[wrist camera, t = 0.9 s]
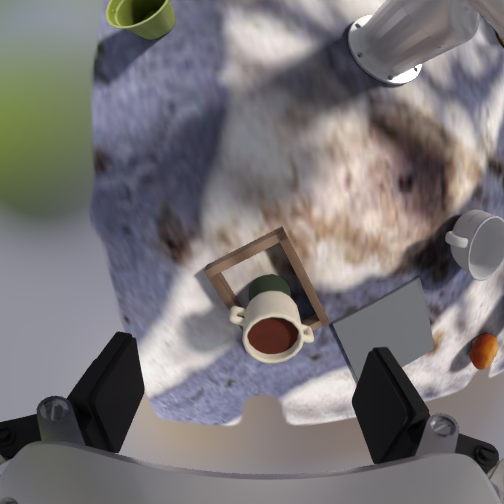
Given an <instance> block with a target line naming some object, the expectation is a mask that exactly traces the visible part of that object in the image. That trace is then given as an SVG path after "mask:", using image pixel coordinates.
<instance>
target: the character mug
mask: <svg viewBox="0 0 504 504" xmlns="http://www.w3.org/2000/svg"><path fill="white" fill-rule="evenodd" d="M249 300H250V303H249V304H248V306H247V307H246V309H244V308H241V307H238V306H233V307H232V308H231V309H230V313H229V321H230V322H231V323H234V324H237V325H241V326H243V338H242V341H243V344H244V347H245V350H246V352H247V353H248V354H249V355H250V356H251V357H252V358H254V359H255V360H257V361H259V362H262V363H268V364H275V363H280V362H283V361H287V360H288V359H290V358H291V357H293V356H295V355H296V354H297V352H298V351H299V350H300V349H301V348H302V345H303V342H306V343H312V342H313V341H314V336H313V332H312V329H311V327H309V326H307V325H303V324H301V321H300V317H299V313H298V309H297V305H296V304H295V303H294V301H293V300H292V299H291V291H290V288H289V285H288V283H287V282H286V281H285V280H284V279H283V278H282V277H280V276H276V275H273V274H270V275H264V276H261V277H260V278H258V279H257V280H255V281H254V283H253V284H252V286H251V287H250V292H249ZM237 314H238V315H241V316H244V318H242V317H238V316H237ZM303 332H304V333H305V334H304V333H303Z"/></svg>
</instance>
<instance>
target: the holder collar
mask: <svg viewBox="0 0 504 504" xmlns="http://www.w3.org/2000/svg"><path fill="white" fill-rule="evenodd" d="M279 242H280V244H281V246H282V248H283V250H284V251H285V253H286V255H287V257H288V259H289V261H290V263H291V265H292V267H293V269H294V271H295V273H296V275H297V277H298V279H299V280H300V282H301V284H302V286H303V288H304V290H305V292H306V294H307V296H308V298H309V300H310V302H311V304H312V306H313V308H314V310H315V312H316V314H314V315H311V316H309V317H307V318H305V319H303V320H301V324H303V325H307V326H309V327H311V329H312V331H314V330H316V329H318V328H320V327H323V326H325V325H327V324H329V320H328V318H327V316H326V313H325V311H324V309H323V307H322V305H321V303H320V301H319V299H318V297H317V295H316V293H315V291H314V289H313V287H312V284H311V282H310V280H309V278H308V276H307V274H306V272H305V270H304V268H303V266H302V264H301V262H300V260H299V258H298V256H297V254H296V252H295V250H294V248H293V247H292V245H291V243H290V241H289V239H288V237H287V235H286V233H285V231H284V229H283V227H280V228H278V229H276V230H274V231H272V232H271V233H269V234H267V235H265V236H263V237H261V238H259V239H257V240H255V241H253V242H251V243H249V244H247V245H245V246H243V247H241V248H239V249H237V250H235V251H233V252H231V253H229V254H228V255H226V256H224V257H222V258H220V259H218V260H216V261H214V262H212V263H210V264H208V265H207V267H206V269H205V273H206V274H207V276H208V278H209V279H210V281H211V282H212V284H213V286H214V287H215V289H216V290H217V292H218V294H219V295H220V297H221V298H222V300H223V301H224V303H225V304H226V306H227V308H228V309H229V311H230V309H231V308H232V307H233V306H238V307H241V308H242V306H241V304H240V303H239V301H238V300H237V298H236V296H235V295H234V293H233V291H232V290H231V288H230V287H229V285H228V283H227V282H226V280H225V278H224V277H223V275H222V274H221V272H222V271H224V270H226V269H228V268H230V267H232V266H234V265H236V264H238V263H240V262H242V261H244V260H246V259H248V258H250V257H252V256H254V255H256V254H257V253H259V252H261V251H263V250H265V249H267V248H269V247H271V246H273V245H275V244H277V243H279ZM237 316H238V317H242V318H244V316H241V315H238V314H237ZM239 326H240V327H241V329H242V331H243V326H241V325H239ZM303 333H304V332H303ZM304 334H305V333H304Z"/></svg>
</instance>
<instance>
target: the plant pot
mask: <svg viewBox="0 0 504 504" xmlns="http://www.w3.org/2000/svg"><path fill="white" fill-rule="evenodd" d="M106 20H107V22H108V23H109V24H110V25H111V26H112V27H114V28H118V29H127V30H130V31H132V32H134V33H135V34H137V35H139V36H141V37H143V38H145V39H149V40H152V39H157V38H159V37H161V36H163V35H165V34H167V33H168V32H169V31H170V30H171V29H172V28H173V26H174V24H175V15H174V12H173V9H172V6H171V2H170V0H110V2H109V4H108V6H107V9H106Z"/></svg>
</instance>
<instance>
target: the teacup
mask: <svg viewBox="0 0 504 504" xmlns="http://www.w3.org/2000/svg"><path fill="white" fill-rule="evenodd" d="M445 241H446V242H447V243H449V244H450V248H451V253H452V256H453V258H454V260H455V261H456V262H457V264H458V265H459V266H460V267H462V268H463V269H464V270H465V271H466V272H468V273H469V274H470V275H471V276H472V277H473V278H474V279H476V280H479V281H483V280H486V279H488V278H490V277H491V276H493V275H494V274H495V273H496V272H497V270H498V269H499V268H500V266H501V264H502V263H503V261H504V220H503V219H502V218H500V217H499V216H494V215H492V214H489V213H487V212H484V211H480V210H470V211H468V212H466V213H464V214H463V215H462V216H461V217H460V218H459V219H458V220H457V222H456V224H455V225H454V228H453V230H452V231H450V232H447V234H446V237H445Z"/></svg>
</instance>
